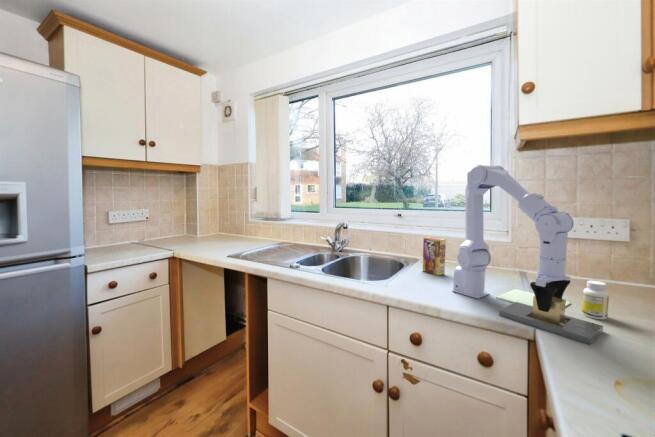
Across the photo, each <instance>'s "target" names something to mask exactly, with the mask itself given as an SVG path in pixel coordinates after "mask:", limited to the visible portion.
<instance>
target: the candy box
mask: <svg viewBox="0 0 655 437" xmlns="http://www.w3.org/2000/svg"><path fill="white" fill-rule="evenodd" d="M422 241H423V246H422V247H423V250H422V252H423V253H422V271H423V272H425V271H426V273H428V272H429V274H432V273H433V274H432V275H436V276H441V275H442V274H443V275H445V270H446V268H445V267H446V246H447V239H444V238H439V237H438V238H437V237H432V236H431V237H430V236H424V237H423V240H422Z"/></svg>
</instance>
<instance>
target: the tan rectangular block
mask: <svg viewBox="0 0 655 437" xmlns="http://www.w3.org/2000/svg"><path fill="white" fill-rule="evenodd" d="M566 301H567V300H566V299H564V298H562V299H560V298H556V297H553V298H552V302H551V306H550V310H549V312H544V311H541V310H538V306H537V301H536V297H535V296H533V312H532V317H531V318H534V319H537V320H540V321H544V322H547V323H550V324H553V325H557V326H560V327H562V326H563V325H564V324H565V323H564V318H565V314H566V307H565V304H566Z"/></svg>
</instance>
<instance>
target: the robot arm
mask: <svg viewBox="0 0 655 437" xmlns="http://www.w3.org/2000/svg"><path fill="white" fill-rule="evenodd" d="M466 176H467V177H466V178H467V179H466V181H467V182H466V187H465V193H464V194H465V195H464V196H465V200H464V201H465V203H464V204H465V207H464V208H465V240H464V242H463V243H461V244H460V245H459V246H458V247H459V248H458V249H459V250H458V253H457V258H456V259H457V263H458V265H457V266H456V267H455V269H454V270H453V286H452V287H453V289H451V290H452V292H455V293H458V294H461V295H465V296H467V297H471V298H474V299H481V298H483V297H485V296H487V295H490V292H488V291H485V285H486V270H487V269H488V266H489V265H490V264H491V262H492V255H491V253H490V247H489V245H488V243H487V242H485V241H484V195H485V194H486V193H487V192H488V191H489V190H491V189H493V188H495V187H499V188H500V189H502V190H503V191H504V192H506V193H507V194H508V195H510V197H512V198H514V199H515V200H516V201H517V203H518V205H517V206H518V208H519V209H520V210H521V212H523V213H524V214H525V215H526V216H528V218H530V219H531V220H532V222H534V224H535V228H536V230H537V231H538V234H539V235H538V236H539V237H538V238H539V250H538V265H537V266H538V267H537V271H536V278H535V281H530V284H529V285H530V286H529V287H530V288H531V290H532V293H534V294H535V297H536V301H537V306H538V310H541V311H544V312H549V310H550V306H551V302H552V298H553V297H556V298H560V299H563V296H564V293H565V291H566V289H567V287H568V286H569V285H570V284H571V278H572V277H571V276H568V275H566V264H567V249H568V248H567V247H568V236H569V234H568V233H570V232H571V231H572V229H573V228H574V223H575V222H574V220H573V217H572V216H571V215H570V213H568V212H565V211H559V209H558V207H556V206H553V205H551V204H550V203H549V202H548V201H547V200H546V199H544V198H545V196H544V195H543V194H541V193H540V194H539V193H536V192H531V193H530V192H528V191H527V190H526V189H525V187H523V186H522V185H521V184H520V183H519V182H518V181H517V180H516V179H515V178H514V177H512V176H511V174H510V173H509V171H508V170H507V169H505V168H504V167H502V166H501V165H481V164H476V165H473V166H472V168H471V169H469V170H468V172H467V175H466Z"/></svg>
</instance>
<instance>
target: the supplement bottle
mask: <svg viewBox="0 0 655 437" xmlns="http://www.w3.org/2000/svg"><path fill="white" fill-rule="evenodd" d="M606 289H607V283H606V282H602V281H598V280H587V282H586V287H585V288H584V289H583V290H582V292H583V293H582V304H581V306H582V308H581V313H582V315H583V316H585V317H587V318H590V319H595V320H607V318H608V313H609V301H610V300H609V299H610V293H609V292H608V291H607V290H606Z"/></svg>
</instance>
